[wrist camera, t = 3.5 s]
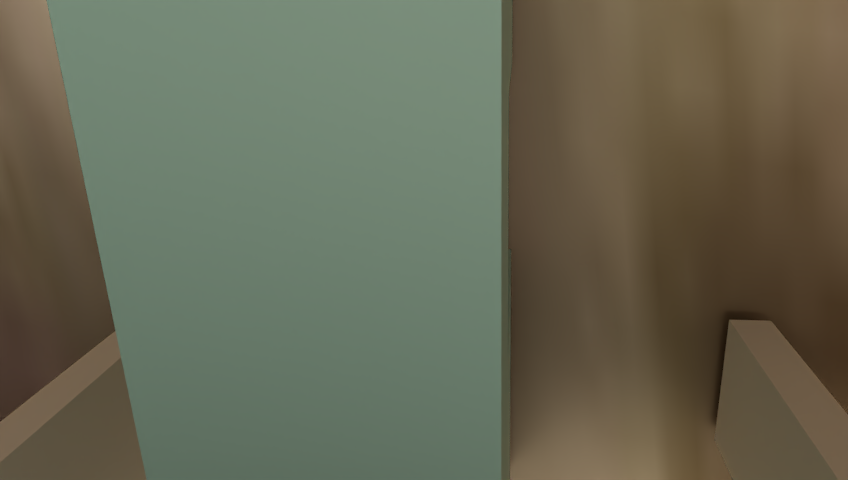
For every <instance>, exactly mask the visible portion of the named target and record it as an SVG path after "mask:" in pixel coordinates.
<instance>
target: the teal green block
mask: <svg viewBox="0 0 848 480" xmlns="http://www.w3.org/2000/svg"><path fill="white" fill-rule="evenodd" d="M512 4H513V0H47V5H48V10H49V14H50V19H51V24H52V29H53V34H54V38H55V43H56V48H57V53H58V58H59V62H60V67H61V72H62V77H63V81H64V86H65V91H66V96H67V101H68V105H69V110H70V115H71V120H72V125H73V129H74V134H75V139H76V144H77V149H78V153H79V158H80V163H81V168H82V173H83V177H84V182H85V187H86V192H87V197H88V201H89V206H90V211H91V216H92V221H93V225H94V230H95V235H96V240H97V245H98V249H99V254H100V259H101V264H102V269H103V273H104V278H105V283H106V288H107V293H108V297H109V302H110V307H111V312H112V317H113V321H114V326H115V331H116V336H117V340H118V345H119V350H120V355H121V360H122V364H123V369H124V374H125V379H126V384H127V388H128V393H129V398H130V403H131V408H132V412H133V417H134V422H135V427H136V432H137V436H138V441H139V446H140V451H141V456H142V460H143V465H144V470H145V475H146V480H510V366H511V249H508V205H509V88H510V80H511V71H512Z"/></svg>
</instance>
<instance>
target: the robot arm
mask: <svg viewBox="0 0 848 480" xmlns="http://www.w3.org/2000/svg"><path fill="white" fill-rule="evenodd" d="M714 440H715V442H716V445H717V447H718V449H719V451H720V453H721V456H722V458H723V460H724V462H725V464H726V466H727V469H728V471H729V473H730V475H731V477H732V480H848V414H847V413H846V412H845V411H844V409H843V408H842V407H841V406H840V405H839V403H838V402H837V401H836V400H835V398H834V397H833V396H832V395H831V394H830V392H829V391H828V390H827V389H826V387H825V386H824V385H823V384H822V383H821V381H820V380H819V379H818V378H817V376H816V375H815V374H814V373H813V371H812V370H811V369H810V368H809V367H808V365H807V364H806V363H805V362H804V360H803V359H802V358H801V357H800V356H799V354H798V353H797V352H796V351H795V349H794V348H793V347H792V346H791V344H790V343H789V342H788V341H787V340H786V338H785V337H784V336H783V335H782V333H781V332H780V331H779V330H778V329H777V327H776V326H775V325H774V324H773V322H772V321H765V320H729V325H728V333H727V341H726V349H725V358H724V366H723V374H722V382H721V390H720V398H719V406H718V415H717V423H716V431H715V439H714ZM0 480H146V475H145V470H144V465H143V460H142V456H141V451H140V446H139V441H138V436H137V432H136V427H135V422H134V417H133V412H132V408H131V403H130V398H129V393H128V388H127V384H126V379H125V374H124V369H123V364H122V360H121V355H120V350H119V345H118V340H117V336H116V331H114V332H113V333H112V334H111V335H109V336H108V337H107V338H106V339H104V340H103V341H102V342H100V343H99V344H98V345H97V346H95V347H94V348H93V349H92V350H90V351H89V352H88V353H87V354H85V355H84V356H83V357H82V358H80V359H79V360H78V361H76V362H75V363H74V364H73V365H71V366H70V367H69V368H68V369H66V370H65V371H64V372H63V373H61V374H60V375H59V376H57V377H56V378H55V379H54V380H52V381H51V382H50V383H49V384H47V385H46V386H45V387H44V388H42V389H41V390H40V391H38V392H37V393H36V394H35V395H33V396H32V397H31V398H30V399H28V400H27V401H26V402H25V403H23V404H22V405H21V406H19V407H18V408H17V409H16V410H14V411H13V412H12V413H11V414H9V415H8V416H7V417H6V418H4V419H3V420H2V421H0Z"/></svg>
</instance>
